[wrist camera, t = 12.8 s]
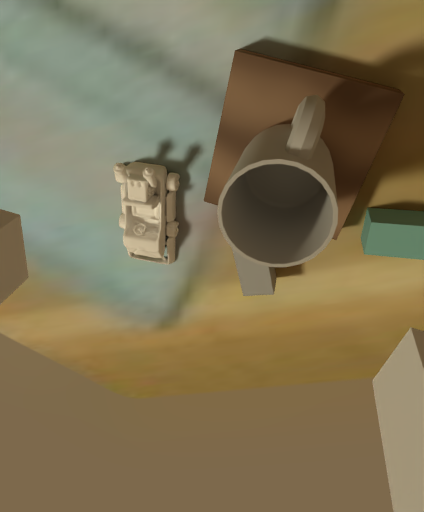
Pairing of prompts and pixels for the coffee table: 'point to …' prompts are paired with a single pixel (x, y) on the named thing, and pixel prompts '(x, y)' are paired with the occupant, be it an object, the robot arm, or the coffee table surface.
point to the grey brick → (255, 277)
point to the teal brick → (393, 233)
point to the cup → (282, 193)
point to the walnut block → (283, 111)
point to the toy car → (148, 210)
